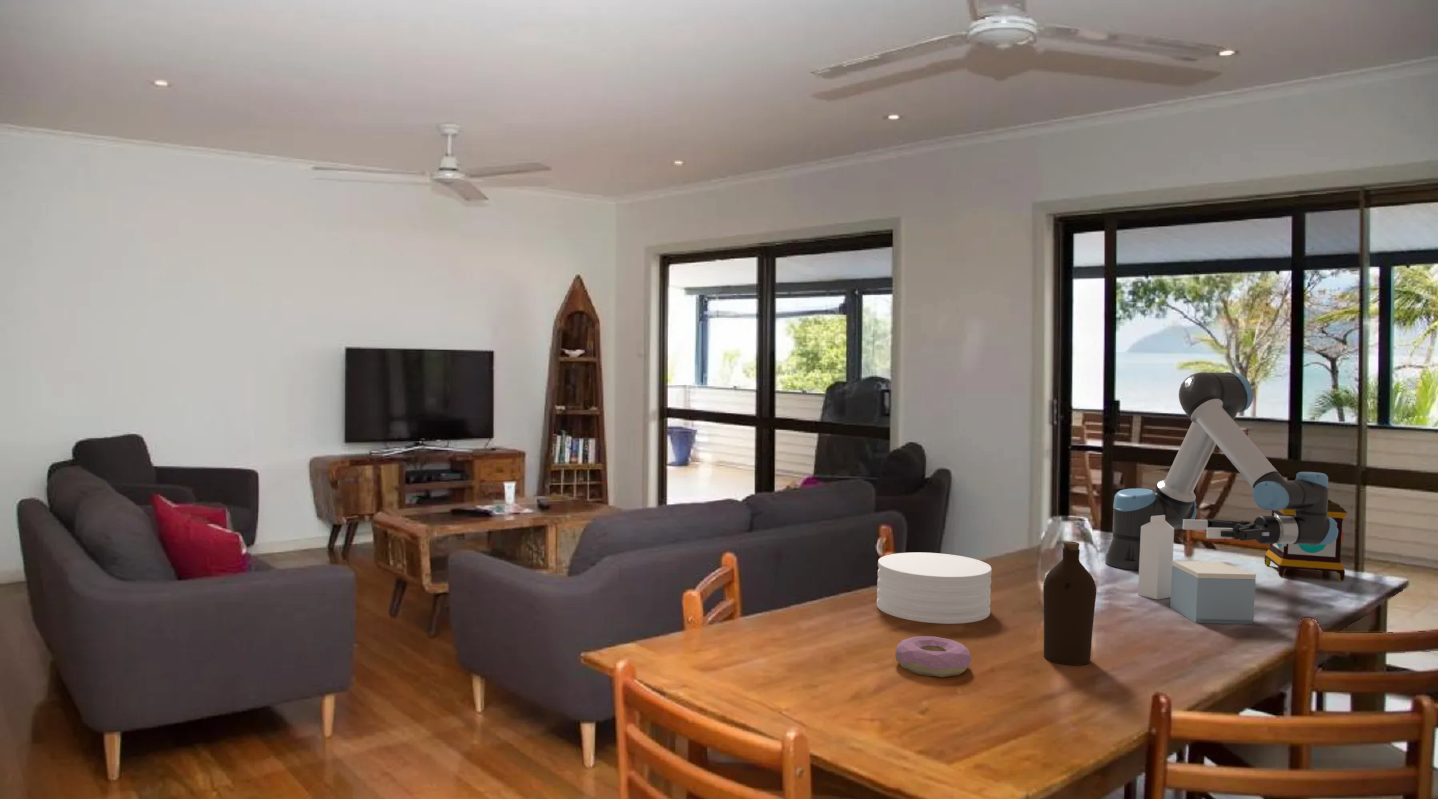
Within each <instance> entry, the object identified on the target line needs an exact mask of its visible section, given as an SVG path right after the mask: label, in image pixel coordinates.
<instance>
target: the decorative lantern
mask: <svg viewBox="0 0 1438 799" xmlns="http://www.w3.org/2000/svg"><path fill="white" fill-rule="evenodd" d="M1347 514H1348V512H1347V510H1345V508H1344V507H1342V506H1341V505H1340V503H1336V502H1334V501H1332V500H1331V499H1329V498H1328V509H1327V515H1328V517H1331V518H1333V519H1334V520H1335V522H1336V523H1337V528H1338V536H1337V539H1336V540H1335V541H1334V542H1333V543H1331V544H1325V545H1303V544H1286V546H1283V545H1282V544H1276V543H1275V544H1269V548H1268V550H1267V551H1266V552H1265V555H1264V564H1265V566H1266V565H1269V566H1270V565H1271V563H1273V564H1274V565H1276V566H1277V568H1278V569H1277V570H1278V576H1279V577H1280V576H1283V577H1284V576H1285V571H1286V570H1289V569H1290V570H1292V569H1293V570H1305V571H1306V570H1307V571H1319V572H1331V573H1333V572H1334V573H1337V580H1338V582H1343V581H1344V580H1345V576H1346V570H1345V567H1344V566H1343V563H1342V561H1341V551H1342V544H1343V542H1344V532H1343V521H1344V519H1345V518H1346V517H1347ZM1271 516H1273V517H1274V516H1295V509H1283V510H1277V511H1276V510H1271Z"/></svg>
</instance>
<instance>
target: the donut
mask: <svg viewBox="0 0 1438 799" xmlns="http://www.w3.org/2000/svg"><path fill="white" fill-rule="evenodd" d="M894 653H895V654H894V656H895V660H896V662H898V663H899V664H900V666H901V667H902V668H903V669H906V670H908V671H910V672H912V673H915V674H917V675H922V676H929V677H930V676H931V677H937V678H938V677H940V678H945V677H951V676H953V677H954V676H959V675H961V674H963V673H964V672H965V671H966V670H967V669H968V667H970V665H971V662H972V657H971V653H970V650H969V649H968V648H967V646H965V645H964V644H963V643H961V642H958V641H955V640H954V639H949V638H945V637H944V638H943V637H939V636H932V635H929V636H927V635H926V636H923V635H922V636H913V637H909V638H905V639H902V640H901V641H900V642H899V643H897V646H896V649H895V652H894Z"/></svg>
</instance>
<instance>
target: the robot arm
mask: <svg viewBox="0 0 1438 799" xmlns="http://www.w3.org/2000/svg"><path fill="white" fill-rule="evenodd" d="M1178 399H1179V404H1180V407H1181V408H1182V410H1183V412H1184V413H1185V415H1187V416H1186V417H1188V418H1189V419H1190V421H1191V424H1190V426H1189V428H1188V430H1187V432H1186V434H1185V437H1184V439H1183V440H1182V443H1181V445H1180V447H1179V450H1178V452H1177V453H1176V456H1175V457H1174V460H1173V463H1172V465H1171V466H1170V469H1169V471H1168V473H1167V475H1166V477H1165V479H1163V480H1159V481H1158V482H1157V484H1156V486H1155V489H1154V490H1152V489H1149V488H1127V489H1126V488H1125V489H1121V490H1118V491H1117V492H1116V493H1115V494H1114V497H1113V498H1114V500H1113V507H1112V508H1113V509H1112V510H1113V511H1112V513H1113V516H1112V539H1111V542H1110V545H1109V547H1108V550H1107V552H1106V554H1105V558H1104V559H1105V561H1104V563H1105V564H1106V565H1107V566H1111V567H1114V568H1119V569H1125V570H1132V571H1139V558H1140V536H1141V526H1143V525H1145V524H1147V523H1149V522H1150V521H1151V516H1159V515H1165V521H1166V522H1167V523H1169V524H1170V525H1171V526H1172V527H1173V528H1174V531H1175V530H1180V529H1182V530H1187V531H1190V530H1192V531H1193V530H1195V531H1204V532H1205V533H1206V534H1205V535H1206V536H1205V538H1206V539H1216V540H1217V539H1222V540H1225V539H1226V540H1227V539H1228V540H1232V539H1235V540H1239V541H1241V542H1242V541H1252V540H1256V542H1257V543H1259V544H1261V545H1270V544H1275V543H1276V544H1282V545H1283V546H1286V544H1303V545H1325V544H1331V543H1333V542H1334V541H1335V540H1336V539H1337V536H1338V528H1337V523H1336V522H1335V520H1334V519H1333V518H1331V517H1328V515H1327V509H1328V499H1329V489H1330V487H1329V476H1328V475H1327V474H1326V473H1324V472H1323V473H1322V472H1314V471H1300V472H1297V473H1296V477H1295V479H1294V480H1286V479H1285V478H1284V477H1283V476H1282V475H1281V473H1279V471H1278V470H1277V469H1276V468H1275V466H1274V465H1272V463H1271V462H1270V461H1269V459H1268V458H1267V457H1266V456H1265V455H1264V454H1263V453H1262V452H1261V450H1260V449H1259V448H1258V447H1257V446H1256V445H1255V443H1254V442H1253V441H1252V440H1251V439H1250V437H1249V436H1248V435H1247V434H1246V432H1244V430H1242V428H1241V427H1240V426H1239V425H1238V424H1237V422H1235V419H1236V417H1237V415H1238V413H1243V412H1245V411H1247V410H1248V409H1249V408H1250V407H1251V405H1252V403H1253V400H1254V390H1253V388H1252V385H1251V382H1250V381H1249V380H1248V379H1247V377H1245V375H1242V374H1239V373H1235V372H1228V371H1227V372H1226V371H1225V372H1203V371H1200V372H1195V373H1193V374H1190V375H1189V376H1188V377H1186V378H1185V379H1184V380H1183V381H1182V383H1181V385H1180V387H1179V391H1178ZM1216 446H1217V447H1218V448H1219V449H1220V450H1221V452H1222V453H1223V454H1224V455H1225V456H1226V458H1227V459H1228V460H1229V461H1230V463H1231V464H1232V465H1233V466H1234V467H1235V468H1236V470H1237V471H1238V473H1240V474H1241V476H1242V477H1243V478H1244V479H1245V481H1247V483H1248V484H1249V485H1250V486H1251V488H1252V489H1253V490H1252V497H1253V501H1254V503H1255V505H1256V506H1257V507H1259V508H1260V509H1263V510H1267V511H1272V510H1276V511H1277V510H1283V509H1295V516H1274V517H1273V516H1272V515H1258V516H1257V517H1256V518H1255V520H1254V521H1253V522H1251V521H1250V520H1229V519H1228V520H1227V519H1215V518H1207V517H1206V518H1204V519H1195V518H1196V516H1197V513H1198V508H1197V502H1196V499H1197V497H1196V494H1195V492H1194V490H1195V488H1196V487H1197V484H1198V483H1199V480H1200V478H1201V476H1202V474H1203V472H1204V469H1205V468H1206V466H1207V464H1208V462H1209V460H1210V458H1211V456H1212V455H1213V451H1214V449H1215V447H1216Z"/></svg>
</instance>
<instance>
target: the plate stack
mask: <svg viewBox="0 0 1438 799" xmlns="http://www.w3.org/2000/svg"><path fill="white" fill-rule="evenodd" d="M877 567H878V570H877V581H876V582H877V585H876V586H877V589H876V590H877V591H876V597H877V599H876V606H877V608H878V610H880V611H881V612H883V613H885V614H887V615H890V616H893V617H896V618H900V619H904V620H908V621H912V622H913V621H915V622H920V623H928V624H929V623H930V624H946V625H947V624H948V625H950V624H951V625H953V624H954V625H956V624H967V623H975V622H979V621H982V620H985V619H987V618H988V617H989V616H990V615H991V607H990V606H991V593H992V589H991V584H992V577H991V576H992V573H993V572H992V570H993V568H992V567H991V565H990V564H989V563H986V562H984V561H982V560H979V559H976V558H972V557H968V556H963V555H956V554H948V553H939V552H938V553H937V552H923V551H922V552H917V551H916V552H897V553H892V554H887V555H883V556H881V557H879V558H878V561H877Z"/></svg>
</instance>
